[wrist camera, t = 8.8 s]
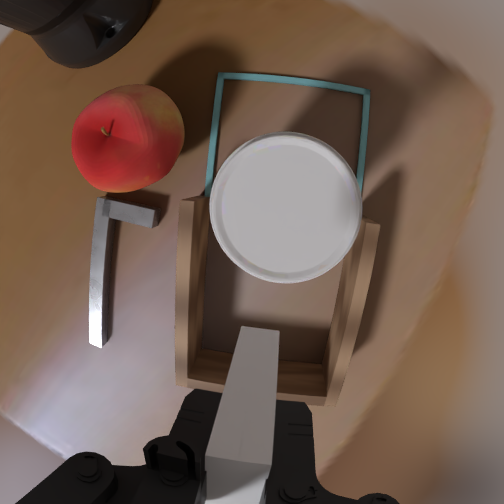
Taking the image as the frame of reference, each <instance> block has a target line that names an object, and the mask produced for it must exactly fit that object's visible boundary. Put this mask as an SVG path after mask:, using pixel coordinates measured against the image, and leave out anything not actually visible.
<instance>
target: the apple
mask: <svg viewBox="0 0 504 504" xmlns="http://www.w3.org/2000/svg"><path fill="white" fill-rule="evenodd" d="M184 138H185V132H184V124H183V119H182V116H181V113H180V111H179V109H178V108H177V106H176V105H175V103H174V102H173V101H172V99H171V98H170V97H169V96H168V95H166V94H165V93H164V92H163V91H161V90H160V89H157V88H155V87H152V86H149V85H139V84H135V85H125V86H120V87H117V88H114V89H112V90H109V91H108V92H106V93H104V94H102V95H101V96H99V97H98V98H96V99H95V100H93V101H92V102H91V103H90V104H89V105H88V106H87V107H86V108H85V109H84V110H83V111H82V112H81V113H80V115H79V116H78V118H77V119H76V121H75V124H74V127H73V132H72V154H73V158H74V161H75V163H76V165H77V167H78V169H79V170H80V172H81V174H82V175H83V176H84V178H85V179H86V180H87V181H88V182H89V183H90V184H91V185H92V186H94V187H95V188H97V189H100V190H102V191H106V192H115V193H120V192H130V191H134V190H138V189H141V188H143V187H146V186H148V185H150V184H152V183H154V182H156V181H158V180H160V179H162V178H163V177H164V176H166V175H167V174H168V173H169V172H170V170H171V169H172V167H173V166H174V164H175V162H176V160H177V158H178V156H179V154H180V152H181V149H182V147H183V143H184Z"/></svg>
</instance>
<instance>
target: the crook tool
mask: <svg viewBox="0 0 504 504" xmlns="http://www.w3.org/2000/svg"><path fill="white" fill-rule="evenodd" d="M160 211H161V208H157V207H152V206H148V205H144V204H139V203H135V202H130V201H126V200H121V199H117V198H112V197H108V196H102V197H97V203H96V211H95V220H94V230H93V240H92V253H91V268H90V292H89V342H90V343H91V344H93V345H96V346H98V347H100V348H102V347H103V346H104V345H105V344H106V343H107V342H108V308H109V288H110V273H111V261H112V251H113V241H114V232H115V224H116V219H117V220H121V221H125V222H129V223H133V224H137V225H141V226H145V227H149V228H153V227H156V226H158V223H159V217H160Z"/></svg>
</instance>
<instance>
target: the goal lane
mask: <svg viewBox="0 0 504 504" xmlns="http://www.w3.org/2000/svg"><path fill="white" fill-rule="evenodd" d="M224 79H232V80H252V81H266V82H277V83H287V84H296V85H305V86H312V87H319V88H326V89H332V90H338V91H344V92H350V93H355V94H360V95H363V108H362V122H361V134H360V145H359V155H358V165H357V174H356V179H357V182H358V184H359V188H360V191H361V190H362V182H363V174H364V165H365V155H366V145H367V134H368V121H369V106H370V90H369V89H364V88H359V87H354V86H349V85H343V84H337V83H331V82H325V81H318V80H311V79H303V78H295V77H285V76H275V75H263V74H247V73H220V72H218V78H217V85H216V93H215V101H214V109H213V117H212V126H211V135H210V144H209V153H208V163H207V174H206V184H205V196H206V197H210V195H211V190H212V185H213V174H214V164H215V154H216V145H217V135H218V126H219V118H220V109H221V101H222V93H223V85H224Z"/></svg>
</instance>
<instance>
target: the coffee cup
mask: <svg viewBox="0 0 504 504" xmlns="http://www.w3.org/2000/svg"><path fill="white" fill-rule="evenodd" d="M361 218H362V197H361V191H360V188H359V184H358V182H357V179H356V177H355V175H354V173H353V171H352V169H351V167H350V166H349V165H348V163H347V162H346V160H345V159H344V158H343V157H342V156H341V155H340V154H339V153H338V152H337V151H336V150H335V149H334V148H332V147H331V146H329V145H328V144H327V143H325V142H323V141H321V140H320V139H317V138H315V137H313V136H310V135H306V134H303V133H297V132H288V131H285V132H273V133H268V134H264V135H261V136H258V137H256V138H253V139H251V140H250V141H248V142H246V143H244V144H243V145H241V146H240V147H239V148H237V149H236V150H235V151H234V152H233V153H232V154H231V155H230V156H229V157H228V158H227V159H226V161H225V162H224V163H223V165H222V166H221V168H220V170H219V171H218V173H217V175H216V178H215V180H214V183H213V186H212V190H211V195H210V219H211V224H212V228H213V231H214V234H215V236H216V238H217V240H218V243H219V244H220V246H221V248H222V249H223V251H224V252H225V253H226V254H227V256H228V257H229V258H230V259H231V260H232V261H233V262H234V263H235V264H236V265H237V266H239V267H240V268H241V269H243V270H244V271H246V272H247V273H249V274H251V275H253V276H255V277H258V278H260V279H263V280H266V281H270V282H276V283H297V282H302V281H307V280H310V279H313V278H316V277H318V276H320V275H322V274H324V273H325V272H327V271H329V270H330V269H331V268H333V267H334V266H335V265H336V264H338V263H339V262H340V261H341V260H342V259H343V257H344V256H345V255H346V254H347V253H348V251H349V250H350V248H351V247H352V245H353V243H354V241H355V239H356V237H357V234H358V232H359V228H360V224H361Z"/></svg>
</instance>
